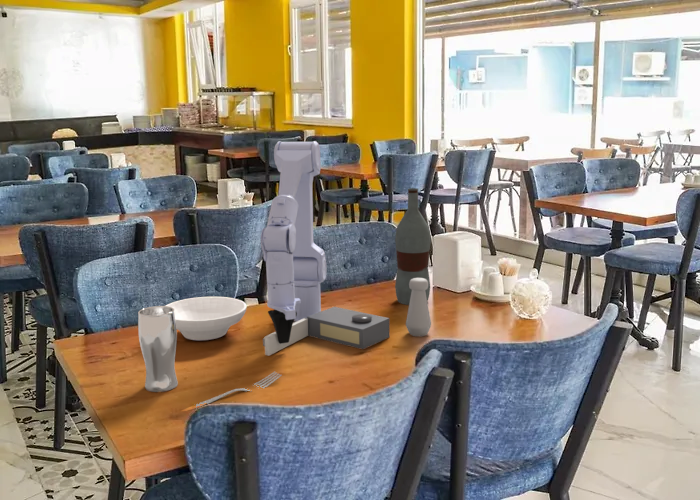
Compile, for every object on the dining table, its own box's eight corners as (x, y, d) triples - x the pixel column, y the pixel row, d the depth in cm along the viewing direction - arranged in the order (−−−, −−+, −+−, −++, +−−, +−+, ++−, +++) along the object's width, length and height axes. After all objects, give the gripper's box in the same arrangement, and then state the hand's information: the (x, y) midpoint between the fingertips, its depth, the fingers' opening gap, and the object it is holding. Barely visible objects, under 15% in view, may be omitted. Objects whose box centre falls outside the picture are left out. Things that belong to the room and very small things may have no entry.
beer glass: (146, 380, 145) (140, 306, 142) (182, 378, 145) (177, 304, 142) (139, 394, 138) (133, 316, 135) (177, 392, 139) (172, 315, 135)
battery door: (302, 333, 171) (301, 316, 170) (309, 334, 170) (308, 318, 169) (261, 354, 158) (260, 336, 157) (268, 355, 157) (268, 337, 156)
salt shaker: (429, 338, 167) (430, 282, 164) (404, 337, 168) (404, 281, 165) (432, 330, 172) (432, 276, 170) (407, 329, 174) (407, 275, 171)
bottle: (437, 300, 197) (438, 188, 191) (416, 307, 190) (417, 192, 184) (408, 294, 203) (409, 185, 197) (388, 301, 197) (387, 189, 190)
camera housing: (307, 335, 170) (306, 313, 169) (334, 324, 178) (334, 303, 177) (362, 349, 160) (362, 326, 159) (389, 337, 168) (389, 314, 167)
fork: (161, 415, 130) (161, 406, 129) (274, 379, 145) (273, 370, 145) (170, 421, 127) (170, 411, 127) (283, 383, 143) (283, 375, 143)
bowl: (265, 335, 171) (264, 306, 170) (195, 357, 157) (193, 326, 156) (213, 318, 184) (212, 292, 183) (144, 337, 170) (142, 309, 169)
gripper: (308, 287, 151) (311, 350, 154) (289, 271, 165) (292, 330, 167) (275, 291, 149) (278, 355, 152) (258, 275, 162) (261, 334, 165)
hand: (283, 342), depth 159 cm, fingers closed, pressing on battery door
